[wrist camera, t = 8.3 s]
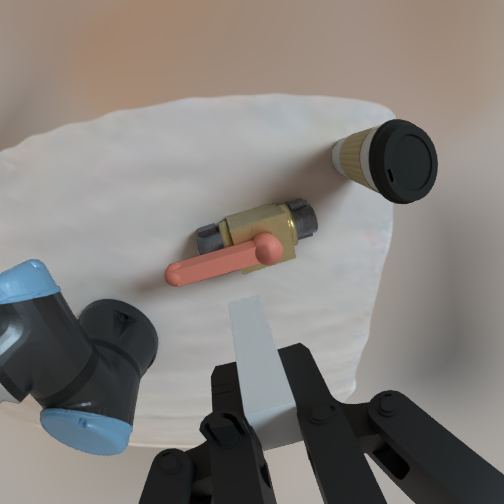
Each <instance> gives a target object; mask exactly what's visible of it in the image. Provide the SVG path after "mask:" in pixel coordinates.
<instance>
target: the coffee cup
mask: <svg viewBox="0 0 504 504" xmlns="http://www.w3.org/2000/svg"><path fill="white" fill-rule="evenodd" d="M332 162H333V165H334V167H335V169H336V170H337V171H338V172H339V173H340V174H342V175H344V176H346V177H348V178H350V179H351V180H353V181H355V182H357V183H359V184H361V185H363V186H365V187H367V188H369V189H371V190H373V191H375V192H377V193H380V194H381V195H382V196H383V197H384V198H386V199H387V200H389V201H390V202H393V203H396V204H408V203H412V202H414V201H416V200H420V199H421V198H423V197H425V196H426V195H427V194H428V193H429V191H430V190H431V189H432V187H433V185H434V183H435V180H436V176H437V168H438V161H437V154H436V150H435V147H434V144H433V142H432V141H431V139H430V138H429V136H428V135H427V133H426V132H424V131H423V130H422V129H421V128H419V127H417V126H416V125H414V124H412V123H411V122H409V121H405V120H400V119H393V120H390V121H387V122H385V123H384V124H382V125H380V126H377V127H373V128H370V129H367V130H364V131H361V132H358V133H355V134H352V135H350V136H348V137H346V138H343V139H341V140H339V141H338V142H337V143H336V144H335V145H334V147H333V150H332Z"/></svg>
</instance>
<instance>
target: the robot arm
mask: <svg viewBox="0 0 504 504" xmlns="http://www.w3.org/2000/svg"><path fill="white" fill-rule="evenodd" d="M60 291H61V289H60V287H59V286H57V285H56V283H55V281H54V280H53V278H52V276H51V274H50V273H49V271H48V269H47V267H46V266H45V264H44V263H43V262H41V261H40V260H37V259H30V260H27V261H25V262H23V263H21V264H18V265H16V266H14V267H12V268H10V269H8V270H6V271H4V272H2V273H0V403H1V402H3V401H7V402H13V403H18V404H19V403H21V402H22V400H23V399H24V398H25V397H26V396H27V395H28V394H31V395H32V396H33V397H34V399H35V400H36V401H37V402H38V403H39V404H40V405H41V406H42V407H43V410H42V411H41V412H40V422H41V424H42V427H43V428H44V429H45V430H46V431H47V432H48V433H49V434H50V435H51V436H52V437H54V438H55V439H57V440H58V441H60V442H61V443H63V444H65V445H67V446H69V447H72V448H74V449H76V450H80V451H83V452H86V453H90V454H95V455H103V456H111V455H116V454H120V453H122V452H123V451H124V450H125V449H126V447H127V446H128V442H129V437H130V433H131V432H132V431H133V427H132V426H133V419H134V413H135V407H136V401H137V395H138V390H139V384H140V379H141V378H142V376H143V375H144V374H145V373H146V371H147V369H148V368H149V367H150V366H151V365H152V364H153V362H154V360H155V358H156V354H157V349H158V336H157V333H156V330H155V328H154V326H153V325H152V323H151V322H150V320H149V319H148V318H147V317H146V316H145V315H144V314H143V313H142V312H141V311H139V310H138V309H136V308H135V307H133V306H131V305H129V304H127V303H125V302H122V301H118V300H113V299H103V300H98V301H95V302H93V303H91V304H90V305H88V306H87V307H86V308H85V310H84V311H83V313H82V314H81V316H80V317H79V319H78V320H77V319H76V317H75V316H74V314H73V312H72V311H71V309H70V307H69V306H68V304H67V302H66V301H65V299H64V297H63V295H62V294H61V292H60ZM228 304H229V312H230V320H231V327H232V334H233V342H234V349H235V356H236V362H232V363H228V364H224V365H219V366H215V368H214V371H213V373H212V375H211V387H212V388H211V390H212V410H213V412H212V413H210V414H209V415H208V416H206V417H205V418H204V420H203V421H202V422H201V424H200V429H199V431H200V432H201V433H202V434H203V436H204V437H205V438H206V439H207V441H205V442H204V443H203V444H201V445H199V446H197V447H195V448H192V449H190V450H188V451H185V452H183V451H182V450H179V449H176V448H173V449H166V450H163V451H161V452H160V453H159V454H157V456H156V457H155V458H154V460H153V462H152V465H151V468H150V471H149V474H148V477H147V480H146V483H145V486H144V489H143V491H142V495H141V498H140V501H139V504H277V503H276V499H275V495H274V490H273V486H272V482H271V478H270V474H269V469H268V465H267V462H266V460H265V458H264V455H263V450H264V451H265V450H269V449H273V448H277V447H281V446H285V445H289V444H292V443H295V442H299V441H302V440H304V443H305V446H306V450H307V454H308V459H309V460H310V463H311V466H312V469H313V472H314V475H315V478H316V480H317V484H318V486H319V490H320V493H321V495H322V498H323V501H324V504H387V502H386V500H385V498H384V496H383V493H382V491H381V489H380V487H379V485H378V483H377V481H376V479H375V477H374V474H373V472H372V470H371V468H370V466H369V464H368V462H367V460H366V458H365V456H364V453H367V454H368V455H369V456H370V457H371V459H373V461H374V462H375V463H376V464H377V465H378V466H379V467H380V468H381V469H382V470H383V471H384V472H385V473H386V474H387V475H388V476H389V477H390V479H391V480H392V481H393V482H394V483H395V484H396V485H397V486H398V487H399V488H400V489H401V490H402V491H403V492H404V493H405V494H406V495H407V496H408V497H409V498H410V499H411V500H412V501H414V503H416V504H504V475H503V474H502V473H501V472H500V471H498V470H497V469H496V468H494V467H493V466H492V465H491V464H489V463H488V462H487V461H486V460H484V459H483V458H482V457H480V456H479V455H478V454H477V453H475V452H474V451H473V450H472V449H470V448H469V447H468V446H467V445H465V444H464V443H463V442H462V441H460V440H459V439H458V438H457V437H455V436H454V435H453V434H452V433H451V432H449V431H448V430H447V429H446V428H444V427H443V426H442V425H441V424H439V423H438V422H437V421H435V420H434V419H433V418H432V417H431V416H430V415H428V414H427V413H426V412H425V411H423V410H422V409H421V408H420V407H419V406H417V405H416V404H415V403H414V402H412V401H411V400H410V399H409V398H408V397H406V396H405V395H404V394H402V393H400V392H398V391H392V390H388V391H383V392H381V393H379V394H377V395H376V396H374V397H373V398H372V399H371V401H370V402H368V403H360V404H345V403H341V402H339V401H337V400H336V399H335V398H333V396H332V395H331V394H330V392H329V389H328V387H327V385H326V383H325V381H324V379H323V377H322V375H321V373H320V371H319V369H318V367H317V365H316V363H315V361H314V359H313V356H312V354H311V352H310V350H309V349H308V348H307V347H305V346H304V345H303V344H301V343H297V344H294V345H291V346H288V347H284V348H281V349H278V350H277V348H276V345H275V342H274V339H273V336H272V333H271V330H270V327H269V324H268V321H267V318H266V315H265V312H264V310H263V307H262V304H261V301H260V298H259V295H256V296H253V297H249V298H245V299H242V300H238V301H234V302H231V303H228ZM262 449H263V450H262Z"/></svg>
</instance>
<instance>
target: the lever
mask: <svg viewBox="0 0 504 504" xmlns="http://www.w3.org/2000/svg"><path fill="white" fill-rule="evenodd" d="M282 254H283V247H282V245H281V243H280V242H279V241H278V240H277V238H276V237H275V236H274V235H273V234H271V233H269V232H262V233H260V234H258V235H256V236H255V237H254V239H253V240H252V241H248V242H245V243H241V244H238V245H234V246H231V247H228V248H224V249H221V250H217V251H214V252H210V253H207V254H204V255H200V256H197V257H193V258H190V259H187V260H183V261H180V262H176V263H172V264H170V265H169V266H168V267H167V268H166V270H165V274H164V276H165V279H166V281H167V283H168V284H170V285H171V286H175V287H179V286H183V285H186V284H190V283H193V282H197V281H200V280H204V279H207V278H211V277H214V276H218V275H221V274H225V273H228V272H232V271H235V270H239V269H242V268H246V267H249V266H252V265H256V264H259V263H261V264H263V265H273V264H275V263H277V262H278V261H279V260H280V259H281V257H282Z"/></svg>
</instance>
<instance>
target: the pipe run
mask: <svg viewBox="0 0 504 504" xmlns="http://www.w3.org/2000/svg"><path fill="white" fill-rule="evenodd" d="M285 203H286V204H281V205H277V206H276V205H275V204H273V203H272V204H268V205H264V206H261V207H257V208H254V209H251V210H247V211H244V212H240V213H237V214H234V215H230V216H227V217H226V220H227V223H228V226H229V227H228V228H227V224H226V221H223V222H219V223H218V225H219V229H220V230H218V231H217V230H216V227H215V224H214V223H213V224H210V225H207V226H204V227H200V228H198V235H199V237H197V243H198V247H199V251H200V254H201V255H204V254H207V253H210V252H214V251H217V250H221V249H224V248H228V247H231V246H234V245H238V244H241V243H245V242H248V241H252V240H253V239H254V237H255V236H256V235H258V234H260V233H262V232H269V233H271V234H273V235H274V236H275V237H276V238H277V240H278V241H279V242H280V243H281V245H282V247H283V254H282V257H281V259H280V260H279V261H278V262H277V263H275V264H278V263H281V262H284V261H288V260H291V259H294V258H296V255H295V250H294V246H296V245H297V244H298V240H300V239H303V238H306V237H310V236H313V233H314V232H316V231H317V230H318V223H317V218H316V215H315V212H314V210H313V208H312V207H311V206H310V205H309V204H308V205H307V203H306V201H305V200H303V199H301V198H300V199H296V200H293V201H289V202H285ZM275 264H273V265H275ZM268 266H272V265H263V264H261V263H259V264H256V265H252V266H249V267H246V268H242V273H243V274H246V273H249V272H252V271H255V270H259V269H262V268H265V267H268Z"/></svg>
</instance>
